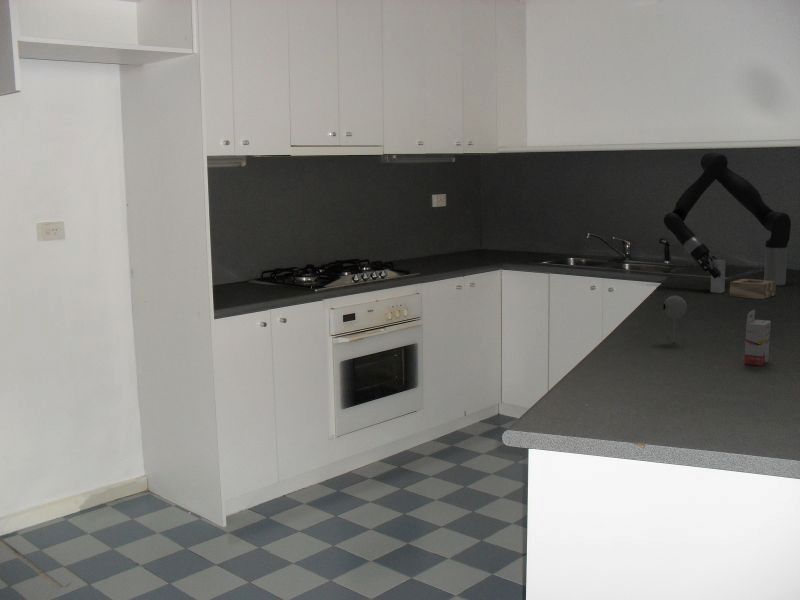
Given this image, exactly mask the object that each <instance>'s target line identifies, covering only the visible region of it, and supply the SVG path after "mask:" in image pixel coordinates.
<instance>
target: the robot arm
mask: <svg viewBox="0 0 800 600" xmlns="http://www.w3.org/2000/svg"><path fill="white" fill-rule="evenodd" d="M728 162H729V161H728V158H727V156H726V155H724V154H723V153H719V152H707V153H705V154H704V155H703V156H702V157H701V159H700V166H701V169H702V170H703V172H702V174H701V175H700V176H699V177H698V178H697V179H696V180H695V181H694V182H693V183H692V184H691V185H690V186H688V188H686V189H685V190H684V191H683V193H682V194H681V196H680V197H679V198H678V200H677V201H676V203H675V205H674V208H673V210H672V212H668V213H666V214H665V215H664V217H663V225H664V226H665V228H666V229H667V230H669V231H670V232H671V233H672V234H673V235H674V236H675V238H676V239H677V240H678V242H679V244H680V245H681V246H683V247H684V250H686V252H687V253H688V254H689V256H690V257H691V258H692V259H693V260H694V261H695V262H697V264H698V265H699V266H700V267H701V269H702V270H703V271H704V272H706V273H709V275H710V276H711V275H712V276H713V278H717V277H718V276H719V275H718V274H717V273H716V271H715V270H714V269H713V268H712V260H718V259H717V258H716V257H715V255H712V256H711V255H709V254H710V251H711V250H710V249H709V248H708V246H707V245H705V244H704V242H703V240H701V239H700V238H699V237H698V236H697V235H696V234H695V233H694V232H693V231H692V229H690V228H689V227H688V226H687V224H686V223H685V221H686V218H687V216H688V214H689V212H691V211H692V209H693V207H694V206H696V204H697V202H698V201H699V199H700V198H701V197H702V196H703V194H704V193H705V192H706V191H707V190H708V189H709V187H710V186H711V185H712V184H713V183H714V182H715V180H716V181H717V182H718V183H720V185H721V186H722V187H723V188H724V189H725V190H726V191H727V192H728V193H729V194H730V195H731V196H732V197H733V198H734V199H735V200H736V201H737V202H738V203H740V204H741V205H742V207H744V208H745V209H746V210H747V211H748V212H749V213H750V214H752V215H753V216H754V217H755V218H756V220H758V222H759V223H760V224H761V226H762V227H763V228H764V229H765V230H766V231H768V232H771V233H770V237H769V239H768V240H766V241H765V248H764V250H765V251H764V271H763V274H764V275H763V280H767V281H776V286H785V285H786V280H787V258H788V257H787V255H788V243H789V242H790V238H791V229H792V222H791V217H790V215H789V214H787V213H786V212H783V211H782V212H779V211H774V210H773V209H772V208H771V207H769V205H767V204H766V203H765V202H764V201H763V198H762V196H761V194H760V191H759V190H758V189H757V188H756V187H755V186H754V185H753V184H752V183H751V182H749V181H748V180H747V179H745V178H744V177H742V176H741V175H739V174H737V173H736V172H734V171H733V170H732V169H730V168H729V167H728V164H729V163H728ZM726 275H727V272H726V271H725V276H726Z"/></svg>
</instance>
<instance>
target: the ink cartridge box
mask: <svg viewBox="0 0 800 600" xmlns="http://www.w3.org/2000/svg"><path fill="white" fill-rule="evenodd" d="M755 315H756V309H752V310H751V311H749V312H748V313H747V317H746V323H745V341H744V342H745V343H744V365H749V366H750V365H752V366H756V367H757V366H758V367H759V366H760V367H762V366H764V365H765V364H766V363H767V362H768V361H769V355H770V354H769V353H770V342H771V341H770V340H771V338H770V337H771V323H772V320H765V319H763V320H762V319H755Z"/></svg>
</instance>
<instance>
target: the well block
mask: <svg viewBox="0 0 800 600" xmlns="http://www.w3.org/2000/svg"><path fill="white" fill-rule="evenodd" d="M776 286H777V285H776V281H767V280H764V279H763V280H762V279H753V278H752V279H750V278H740V279H737V280H734V281H730V282H729V297H733V298H734V297H735V298H746V299H747V298H748V299H758V300H764V299H767V298H771V297H773V296H775V295H776Z"/></svg>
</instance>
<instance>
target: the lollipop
mask: <svg viewBox="0 0 800 600" xmlns="http://www.w3.org/2000/svg"><path fill="white" fill-rule="evenodd" d="M662 308H663V311H664V313H665V315H666V316H667V317H669V318H671V319H673V322H672V323H673V326H672V327H673V328H672V343H673V342H675V343H676V322H677V321H676V320H677V319H679V318H681V317H683V316H684V315H685V313H686V312H687V309H688V306H687V302H686V300H685V299H684V298H683V297H682V296H679V295H671V296H668V297H666V298H665V300H664V302H663V307H662Z"/></svg>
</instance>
